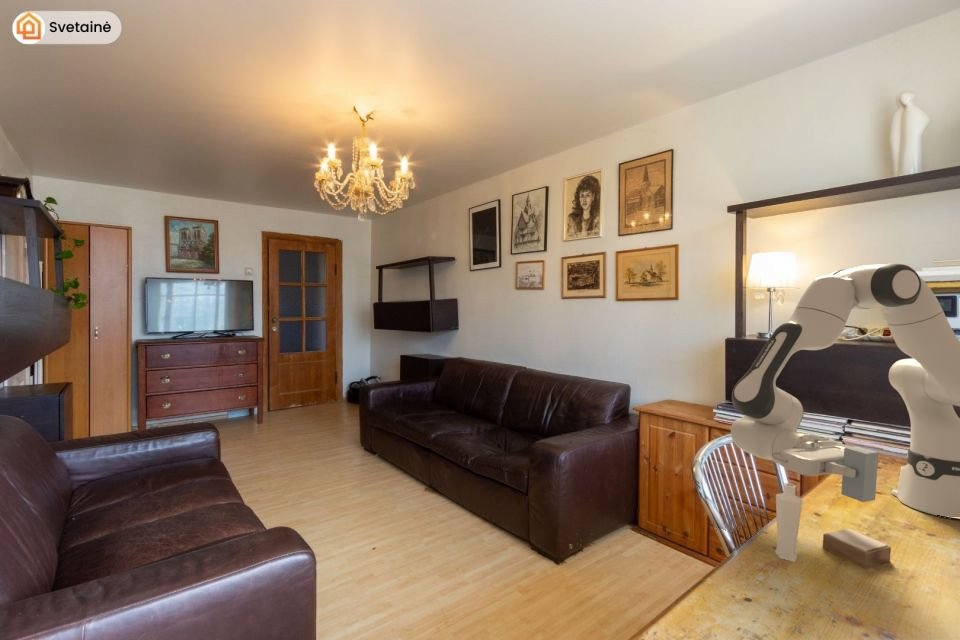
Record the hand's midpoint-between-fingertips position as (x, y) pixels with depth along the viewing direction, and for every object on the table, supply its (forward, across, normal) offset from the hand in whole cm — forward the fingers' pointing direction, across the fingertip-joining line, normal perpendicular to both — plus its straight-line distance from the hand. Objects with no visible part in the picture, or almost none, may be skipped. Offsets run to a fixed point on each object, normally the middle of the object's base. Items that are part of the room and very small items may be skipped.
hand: (864, 472), depth 93 cm
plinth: (-1, 0, +18) cm, 18 cm away
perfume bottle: (-5, -15, +18) cm, 24 cm away
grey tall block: (-1, 0, +6) cm, 6 cm away
